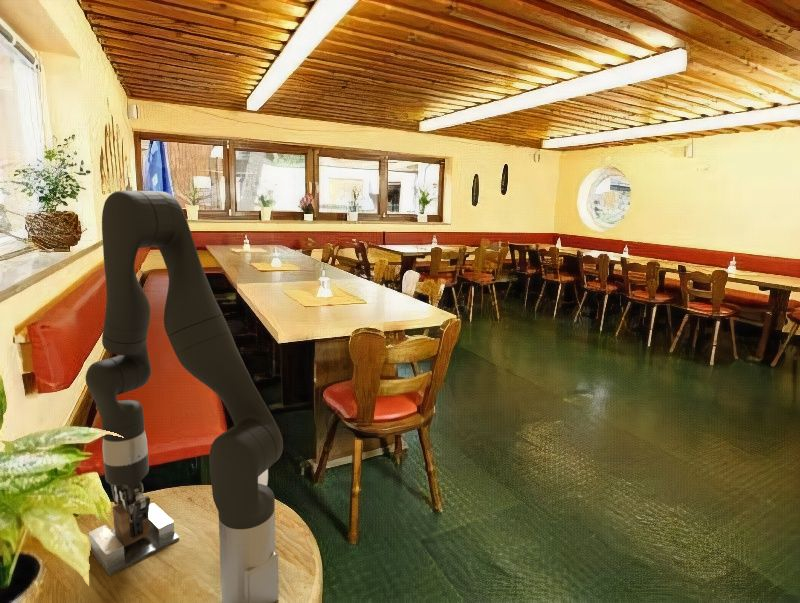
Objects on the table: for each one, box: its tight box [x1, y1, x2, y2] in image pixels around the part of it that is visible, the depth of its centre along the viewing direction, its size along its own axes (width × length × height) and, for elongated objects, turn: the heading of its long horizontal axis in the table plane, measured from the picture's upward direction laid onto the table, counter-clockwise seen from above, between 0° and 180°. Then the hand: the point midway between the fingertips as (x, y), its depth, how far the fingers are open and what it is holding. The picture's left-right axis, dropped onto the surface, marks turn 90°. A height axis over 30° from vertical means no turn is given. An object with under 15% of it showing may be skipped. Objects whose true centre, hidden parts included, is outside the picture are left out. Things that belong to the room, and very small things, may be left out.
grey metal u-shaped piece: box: [88, 502, 180, 577], centre depth 95 cm, size 12×13×4 cm
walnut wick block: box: [112, 503, 150, 547], centre depth 94 cm, size 4×5×7 cm
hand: (132, 530), depth 95 cm, fingers closed on walnut wick block, 3 cm apart
